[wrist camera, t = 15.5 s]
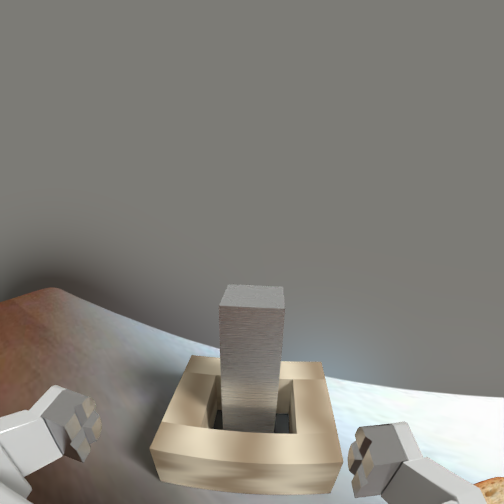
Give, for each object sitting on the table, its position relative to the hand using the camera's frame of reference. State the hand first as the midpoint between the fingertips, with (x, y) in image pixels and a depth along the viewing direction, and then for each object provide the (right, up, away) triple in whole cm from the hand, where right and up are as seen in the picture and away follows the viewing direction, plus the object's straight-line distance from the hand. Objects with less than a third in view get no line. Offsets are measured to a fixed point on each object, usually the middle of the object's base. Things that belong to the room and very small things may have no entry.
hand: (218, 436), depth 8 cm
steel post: (+1, -11, +16) cm, 19 cm away
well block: (+1, -11, +16) cm, 19 cm away
